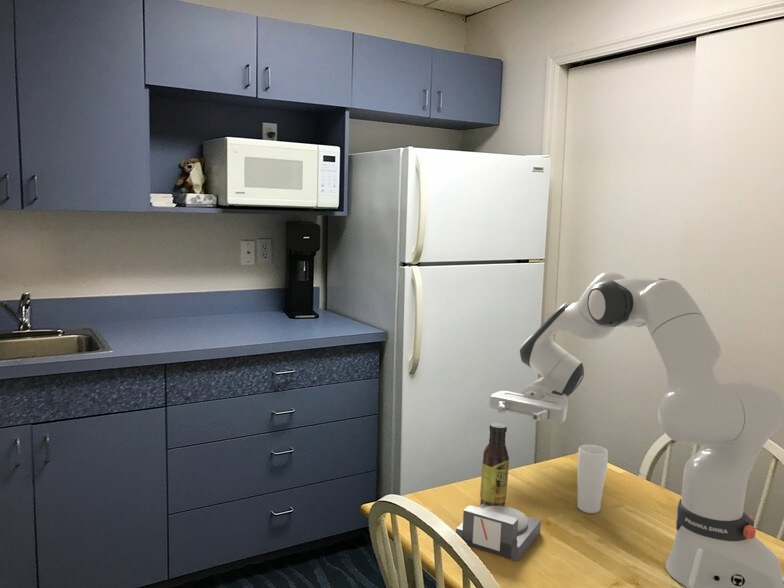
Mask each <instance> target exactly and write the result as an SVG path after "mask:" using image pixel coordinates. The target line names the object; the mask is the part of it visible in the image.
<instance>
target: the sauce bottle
mask: <svg viewBox="0 0 784 588" xmlns="http://www.w3.org/2000/svg"><path fill="white" fill-rule="evenodd" d="M507 429H508V426H507V425H506V424H505V423H501V422H491V423H490V424H489V439H488V442H489V443H488V444H487V445H486V446H485V448H484V449H483V458H482V464H481V477H480V478H481V479H480V491H479V494H480V495H479V497H480V498H479V500H480V505H481V504H484V505H488V506H506V501H507V493H508V481H509V480H508V478H509V465H510V457H509V454H508V450H507V445H506V435H507V432H508V431H507Z"/></svg>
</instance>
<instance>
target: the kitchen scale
mask: <svg viewBox="0 0 784 588" xmlns="http://www.w3.org/2000/svg"><path fill="white" fill-rule="evenodd" d="M462 518H463V519H462V523H460V524H459V525H458V526H457V527H456V529H455V534H456V533H457V534H458V535H459V536H460V537H461V538H462V539H463V540H464V541H465V542H466V543H467V544H468V545H469V547H472V548H474V547H475V549H478V548H479V549H478V550H481V551H484V552H488V553H490V554H494V555H496V556H500V557H504V558H506V559H510V560H513V561H517V562H519V561H520V559H521V558H522V557H523V555H524V554H525V553H526V551H528V549H529V548H530V546H531V545H532V544H533V543H534V541H535V540H536V539H537V538H538V536H539V535H540V534H541V528H542V527H541V526H542V525H541V524H542V520H541V519H538V518H535V517H532V516H527V515H526V514H525V513H524V512H522V511H520V510H519V509H516V508H514V507H510V506H506V505H505V506H488V505H484V504H481V503H480V505H479V506H474V505H472V504H469V505H468V506H466V508H464V509H463V515H462ZM468 545H467V546H468Z"/></svg>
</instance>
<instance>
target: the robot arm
mask: <svg viewBox="0 0 784 588" xmlns="http://www.w3.org/2000/svg"><path fill="white" fill-rule="evenodd" d="M616 327H636V328H639V327H646V328H647V330H648V332H649V334H650V337H651V338H652V339H651V340H653V343H654V345H655V347H656V349H657V350H656V351H657V352H658V353H659V356H660V358H661V361H662V363H663V366H664V369H665V372H666V377H667V385H666V386H667V388H666V391H665V394H664V395H663V396H662V397H661V399H660V401H659V404H658V410H657V418H658V422H659V424H660V427H661V429H662V431H663V432H664V433H665V435H667V437H668V438H669V439H671V440H672V441H674V442H676V443H677V442H678V443H683V444H691V445H698V446H699V445H702V446H701V447H700V448H699V449H698V451H697V452H695V454H693V455H692V456H691V457H690V458H689V459H688V460H687V462H686V463H685V465H684V469H683V479H682V487H681V498H680V499H679V501H678V504H677V508H676V515H675V516H676V518H675V524H676V525H675V527H676V533H675V537H674V541H673V543H672V548H671V551H670V553H669V556H668V558H667V561H666V562H665V569H666V571H667V573H668V574H669V575H670V577H671V578H673V579H674V580H675V581H677V582H678V583H680V584H681V585H683V586H684V587H685V588H784V575H783V571H782V568H781V567H782V566H781V565H780V561H779V559H778V557H777V555H776V554H775V553H774V552H773V551H772V550H771V549H770V548H769V547H768V546H766V545H765V544H764V543H763V542H762V541H761V540H760V539H759V538H758V537H757V536H756V532H757V530H756V528H755V521H754V520H753V519H754V518H753V515H752V514H751V513H750V515H748V514H746V512H744V507H745V499H746V493H747V486H748V481H749V477H750V474H751V472H752V469H753V466H754V465H755V462H756V460H757V459H758V456H759V454H760V452H761V451H762V449H763V447H764V446H765V444H766V443H767V441H768V440H769V439H770V438H771V437H772V436H773V435H774V434H775V433H777V432H778V431H779V429H781V428H782V426H783V425H784V401H783V399H782V397H781V395H780V394H779V393H778V392H777V391H776V390H775V389H773V388H772V387H770V386H767V385H763V384H758V383H753V382H747V381H746V382H745V381H743V382H742V381H741V382H732V383H731V382H729V383H720V382H719V381H718V380H717V379H716V376H715V372H714V366H715V365H716V364H717V363H718V361H719V359H720V356H721V353H722V349H721V345H720V343H719V341H718V339H717V337H716V336H715V334H714V332H713V330H712V329H711V326H710V325H709V322H708V321H707V320H706V318H705V316H704V314H703V312H702V310H701V308H700V307H699V306H698V305H697V302H696V301H695V299H694V298H693V297H692V296H691V295H690V293H689V291H687V289H686V288H685V287H684V286H683V285H682V284H681V283H680V282H678V281H676V280H673V279H667V278H661V277H658V278H641V277H640V278H637V277H632V278H631V277H629V278H626V277H625V276H624V275H622V274H620V273H617V272H614V271H606V272H602V273H601V274H599V275H598V276H596V277H595V278H594V280H593V281H591V282H590V284H589V285H588V286H587V288H586V289H585V290H584V292H583V293H582V294H581V296H580V298H579V300H577V301H576V302H565V303H563V304H561V305H560V306H559V307H558V308H557V309H556V310H555V311H554V312H553V313H552V314H551V315H550V316H549V317H548V318H547V319H546V321H544V322H543V324H542V325H541V326H540V327H539V328H538V329H537V330H536V331H535V332H534V333H533V334H531V335H530V336H528V338H526V339H525V341H524V342H523V343H522V344H521V347H520V349H519V356H520V359H521V363H523V364H525V365H526V366H528V367H529V368H531V369H533V370H534V371H535V372H536V373H538V374H539V375H540V376H541V377H539V378H537V379H536V380H534V381H533V382H532V383H530V384H528V385H526V386H525V387H524V388H523V389H522V390H521V391H520V392H514V391H509V390H499V391H496V392H493V393H491V395H490V396H489V401H488V405H489V407H490V409H493V410H497V413H499V414H505V413H506V412H507V413H513V414H517V415H521V416H526V417H530V418H532V420H533V421H536V422H540V421H541V420H542V421H543V420H544V421H550V422H554V423H555V422H556V423H563V422H565V421H566V418H567V414H568V413H567V412H568V401H569V400H568V397H569V396H570V395H571V394H573V392H575V391H576V389H578V387H579V385H580V384H581V382H582V381H583V379H584V376H585V371H584V370H585V369H584V367H585V366H584V364H583V362H581V361H580V360H579V359H578V358H577V357H575V356H574V355H573V354H571V353H570V352H568V351H567V350H565V349H564V348H563V347H562V346H560V345H559V344H557V343H556V342H555V340H553V339H552V336H553V335H554V334H555V333H556V332H557V331H563V332H567V333H570V334H572V335H574V336H577V337H579V338H582V339H584V340H585V339H586V340H594V341H595V340H599V339H600V340H601V339H604V338H606V337H607V336H609V335H610V334H611V333H612V332H614V330H615V329H616Z"/></svg>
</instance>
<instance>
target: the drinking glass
mask: <svg viewBox="0 0 784 588" xmlns="http://www.w3.org/2000/svg"><path fill="white" fill-rule="evenodd" d="M608 451H609V450H608V449H606V448H605V447H603V446H600V445H597V444H582V445H580V446H578V452H577V460H576V461H577V463H576V464H577V469H576V470H577V471H576V472H577V501H576V502H577V505H576V506H577V509H578V510H580V512H583V513H587V514H596V513H599V512H600V511H601V507H602V506H601V505H602V504H601V503H602V498H603V497H602V496H603V493H604V492H603V491H604V485H605V481H606V476H607V468H608V460H609V455H608V454H609V452H608Z"/></svg>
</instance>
